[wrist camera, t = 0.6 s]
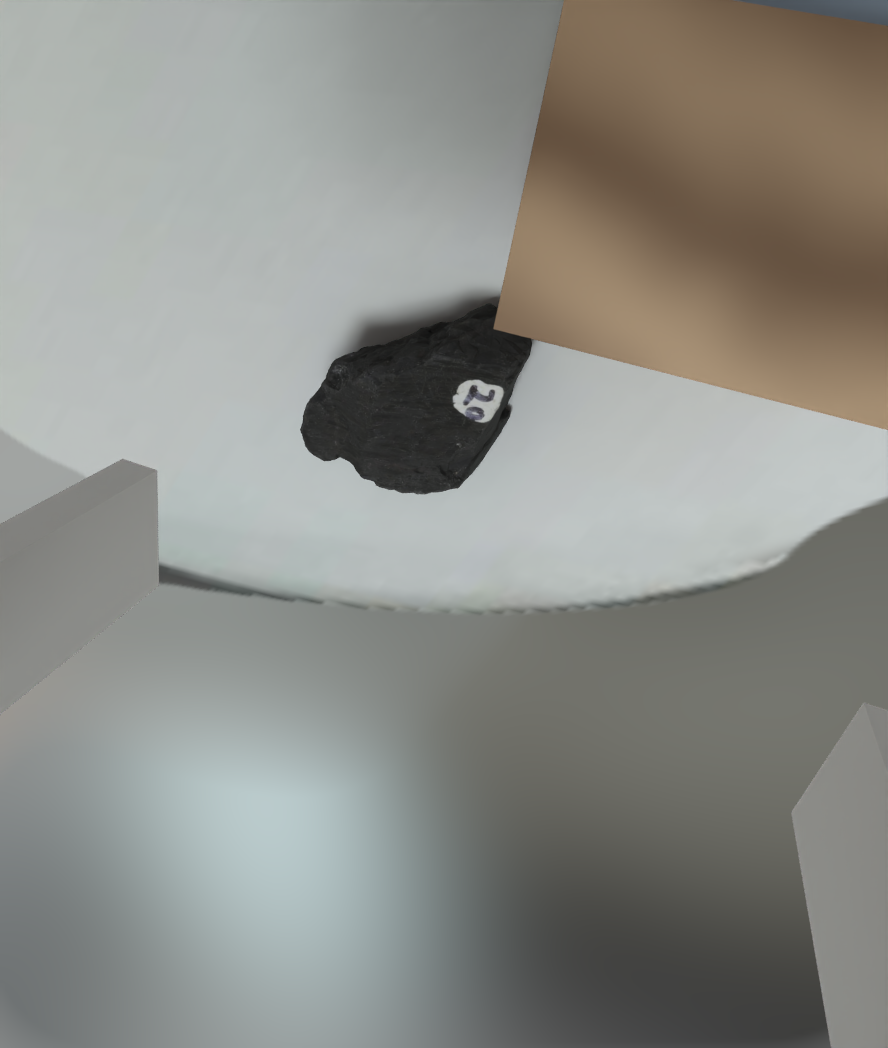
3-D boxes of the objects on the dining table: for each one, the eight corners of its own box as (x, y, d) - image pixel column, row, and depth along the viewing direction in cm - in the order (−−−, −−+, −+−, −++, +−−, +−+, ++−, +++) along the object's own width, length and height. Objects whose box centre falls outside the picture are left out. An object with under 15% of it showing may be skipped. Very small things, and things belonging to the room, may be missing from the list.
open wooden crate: (604, 41, 30) (569, -27, 20) (964, 105, 27) (1123, 64, 17) (545, 287, 34) (493, 328, 25) (846, 359, 32) (920, 438, 22)
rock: (390, 247, 36) (341, 259, 31) (552, 323, 35) (529, 348, 30) (336, 420, 41) (287, 454, 36) (475, 489, 40) (445, 535, 35)
